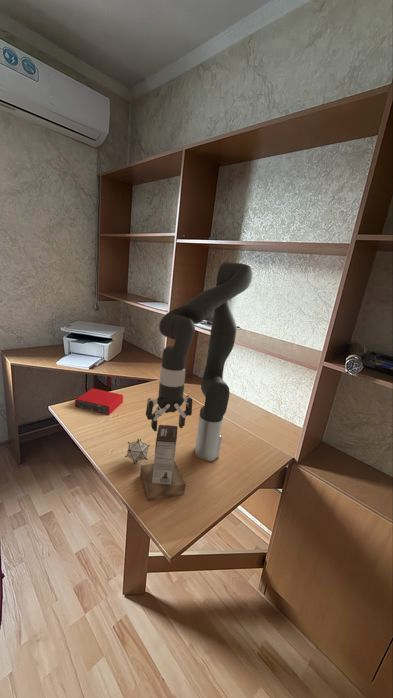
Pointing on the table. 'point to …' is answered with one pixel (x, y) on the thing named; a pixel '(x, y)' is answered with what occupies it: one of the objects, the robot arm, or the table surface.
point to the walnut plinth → (161, 490)
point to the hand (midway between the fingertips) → (167, 428)
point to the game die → (137, 451)
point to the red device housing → (99, 401)
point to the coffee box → (164, 454)
